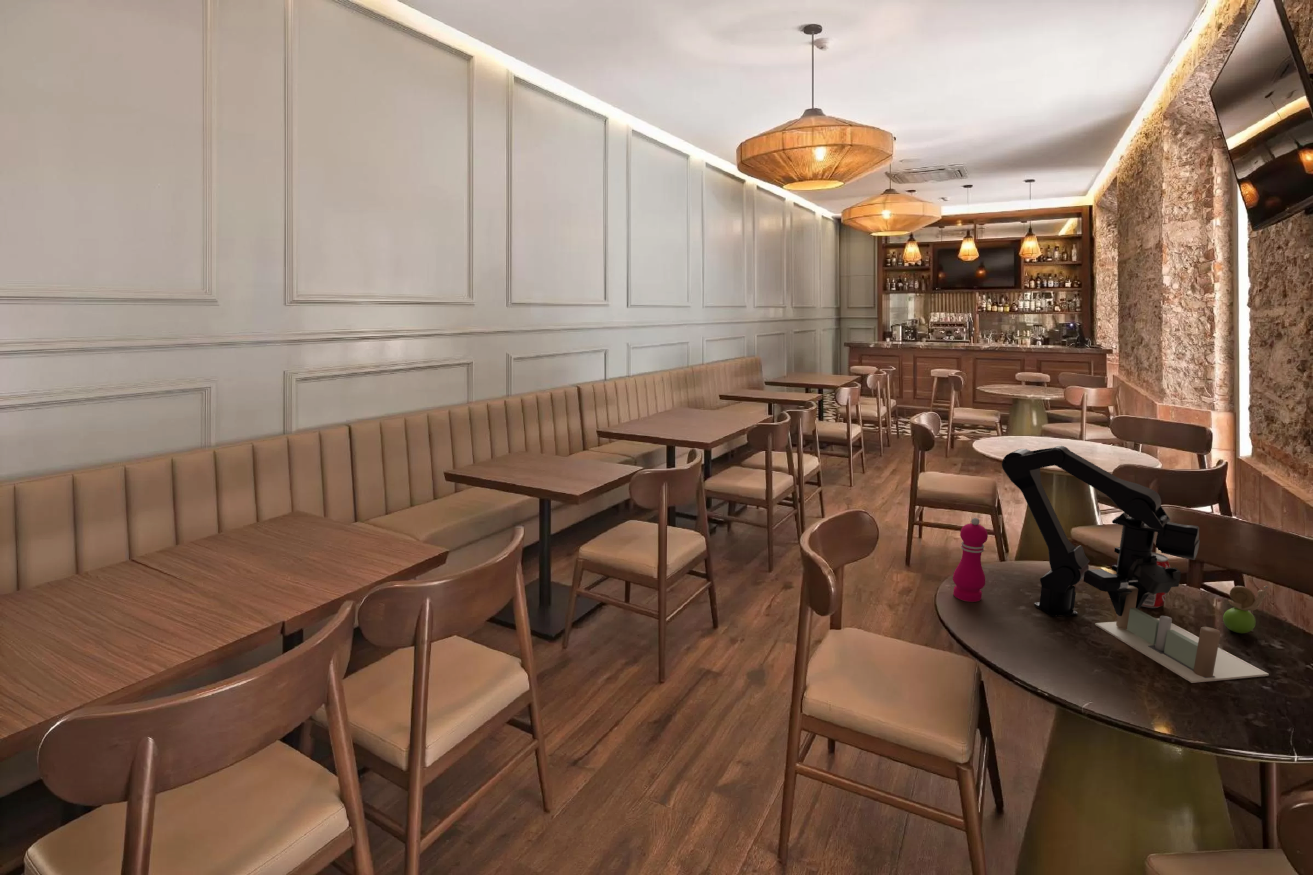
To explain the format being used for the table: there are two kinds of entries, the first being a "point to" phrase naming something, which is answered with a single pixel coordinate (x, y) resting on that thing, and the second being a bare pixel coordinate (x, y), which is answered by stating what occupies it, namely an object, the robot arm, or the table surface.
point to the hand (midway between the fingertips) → (1125, 614)
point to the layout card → (1223, 670)
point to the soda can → (1158, 598)
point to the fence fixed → (1189, 647)
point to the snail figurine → (1242, 609)
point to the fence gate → (1137, 619)
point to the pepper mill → (970, 563)
